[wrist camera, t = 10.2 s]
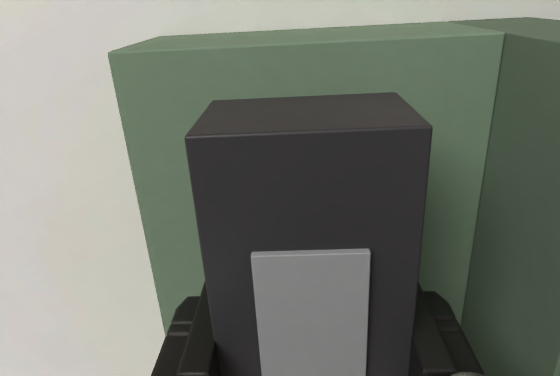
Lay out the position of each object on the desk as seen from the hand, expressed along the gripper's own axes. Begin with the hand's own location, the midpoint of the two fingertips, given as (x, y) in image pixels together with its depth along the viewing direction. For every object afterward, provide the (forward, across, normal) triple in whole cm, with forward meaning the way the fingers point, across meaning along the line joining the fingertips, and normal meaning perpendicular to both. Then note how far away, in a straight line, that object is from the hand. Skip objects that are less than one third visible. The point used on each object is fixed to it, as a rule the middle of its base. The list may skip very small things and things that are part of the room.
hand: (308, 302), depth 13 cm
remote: (0, 0, 0) cm, 0 cm away
